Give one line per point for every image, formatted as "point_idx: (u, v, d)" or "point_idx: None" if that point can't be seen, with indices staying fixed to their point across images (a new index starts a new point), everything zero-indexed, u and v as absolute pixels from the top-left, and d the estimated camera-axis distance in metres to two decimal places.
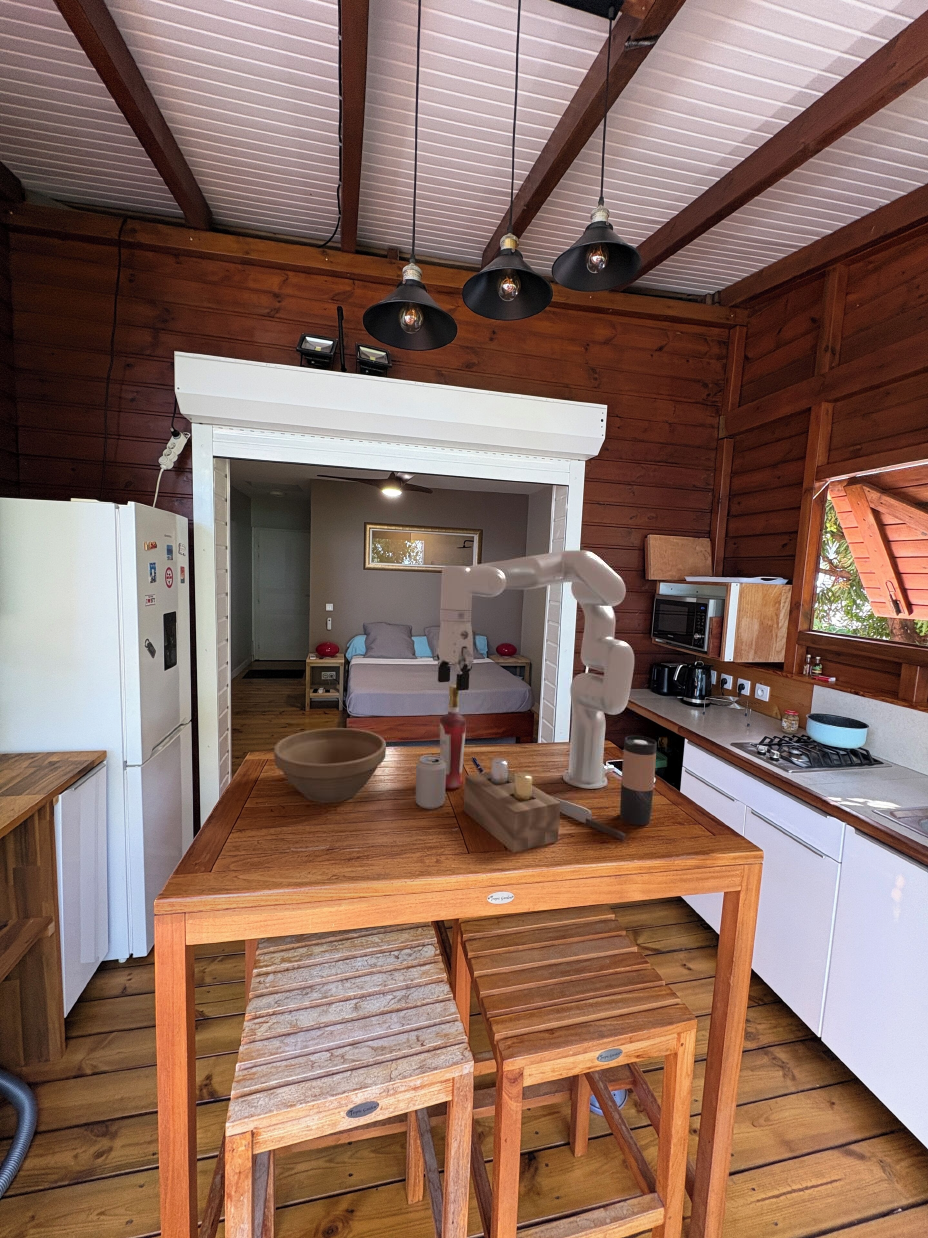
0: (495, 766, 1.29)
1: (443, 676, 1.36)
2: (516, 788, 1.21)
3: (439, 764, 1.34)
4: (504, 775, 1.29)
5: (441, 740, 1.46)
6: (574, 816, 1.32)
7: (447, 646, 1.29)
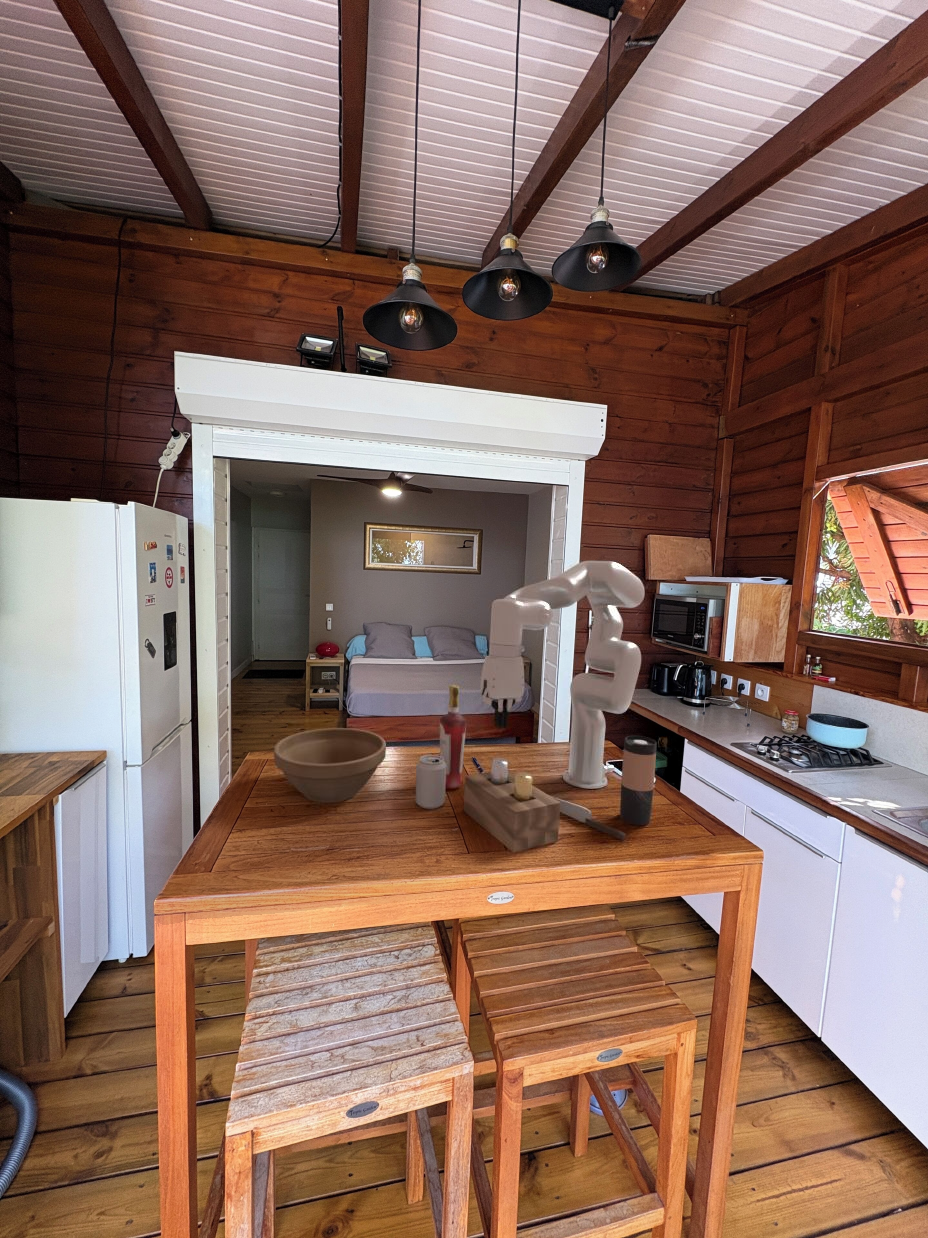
0: (495, 766, 1.29)
1: None
2: (516, 788, 1.21)
3: (439, 764, 1.34)
4: (504, 775, 1.29)
5: (441, 740, 1.46)
6: (574, 816, 1.32)
7: (512, 682, 1.27)
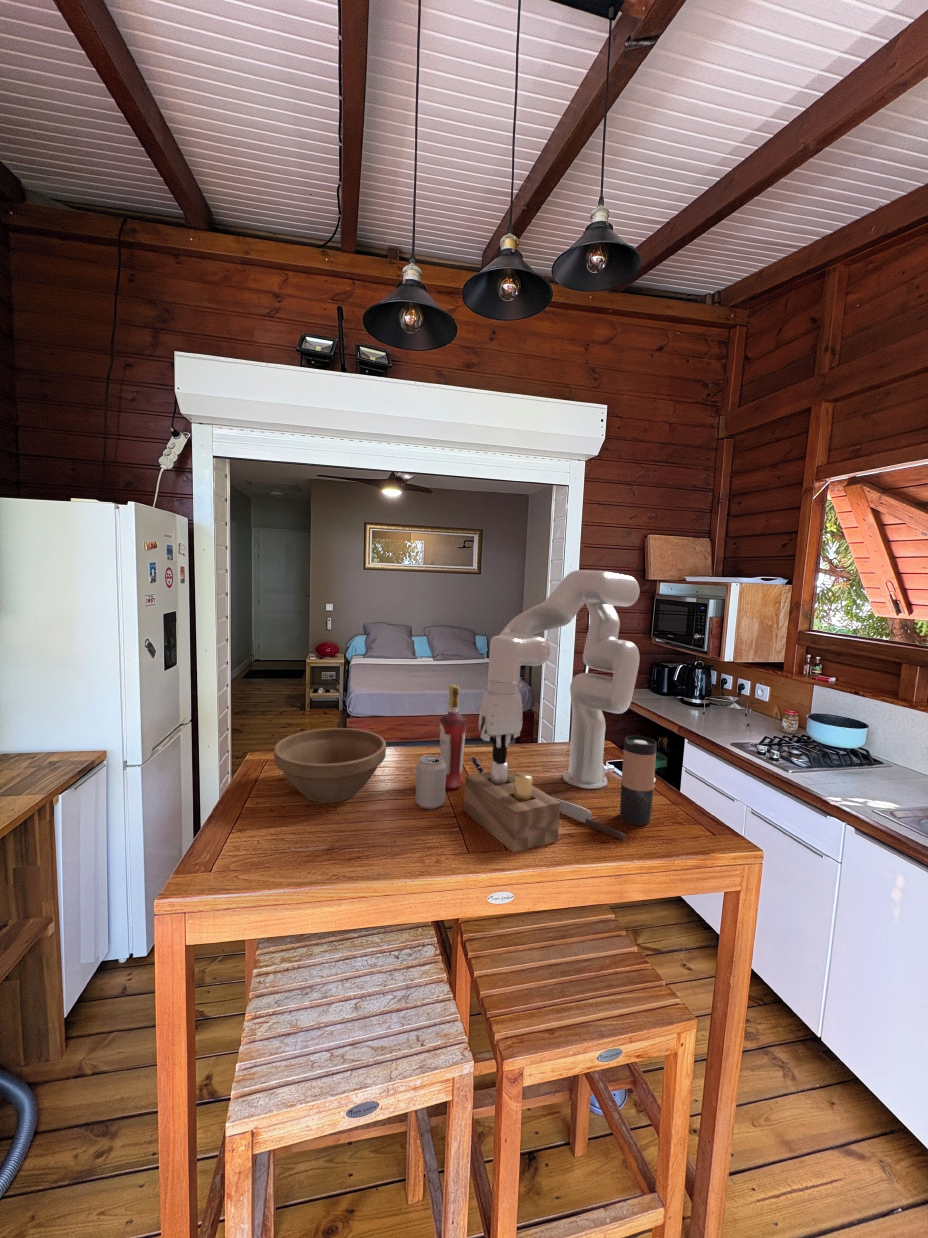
0: (495, 767, 1.29)
1: None
2: (516, 788, 1.21)
3: (439, 764, 1.34)
4: (504, 776, 1.29)
5: (441, 740, 1.46)
6: (574, 816, 1.32)
7: (510, 718, 1.28)
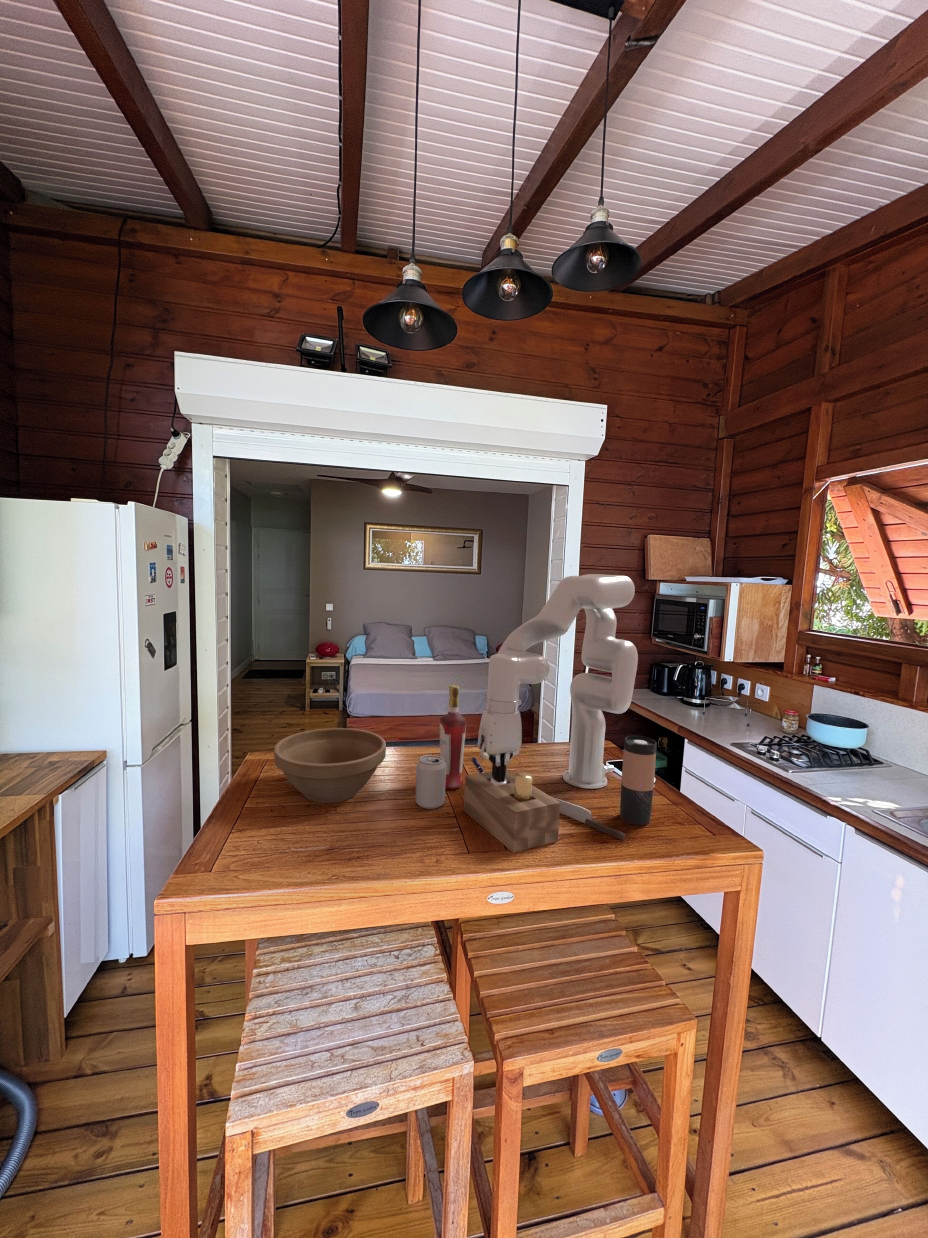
0: None
1: None
2: (516, 788, 1.21)
3: (439, 764, 1.34)
4: None
5: (441, 740, 1.46)
6: (574, 816, 1.32)
7: (510, 737, 1.28)
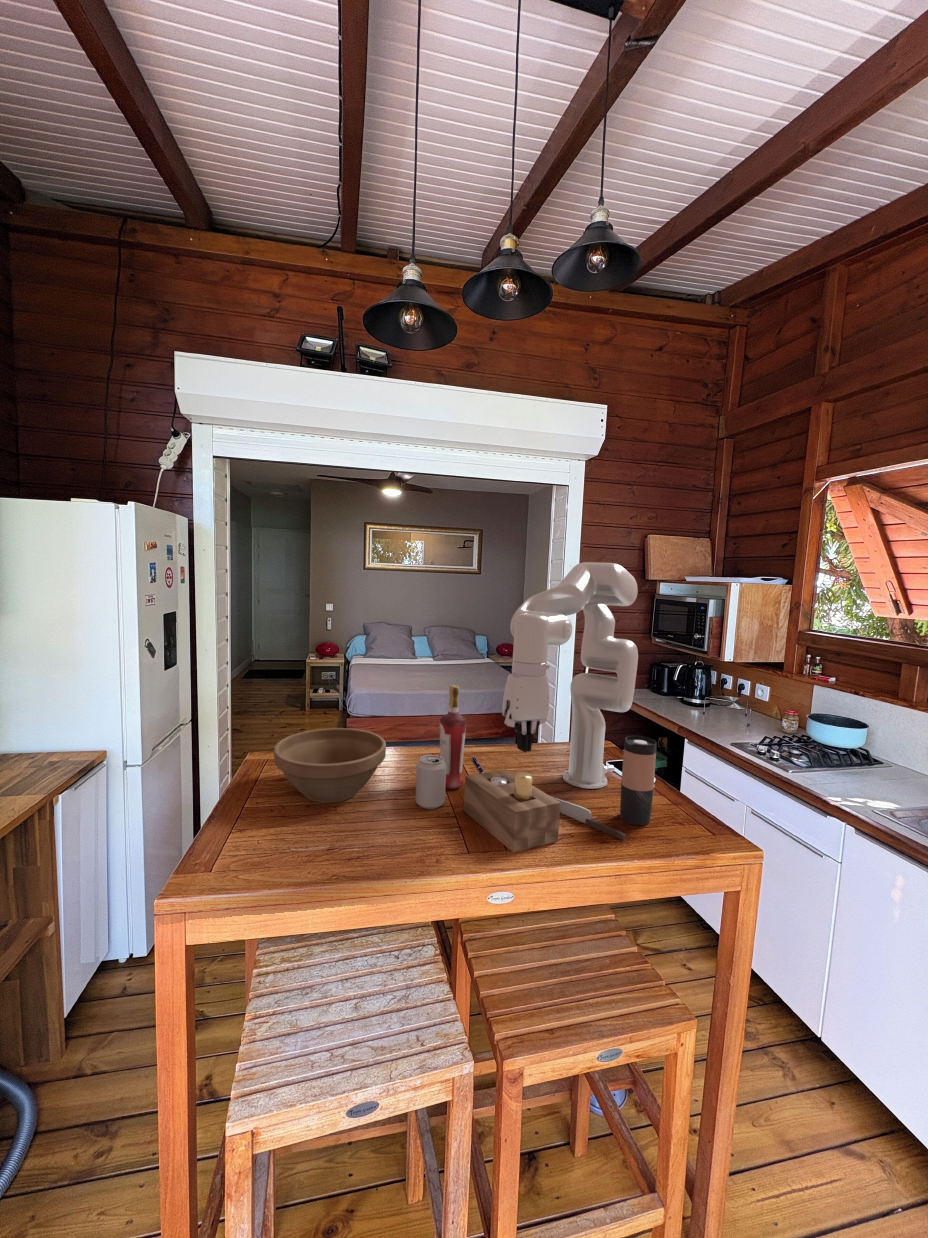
0: None
1: None
2: (516, 788, 1.21)
3: (439, 764, 1.34)
4: None
5: (441, 740, 1.46)
6: (574, 816, 1.32)
7: (537, 702, 1.19)
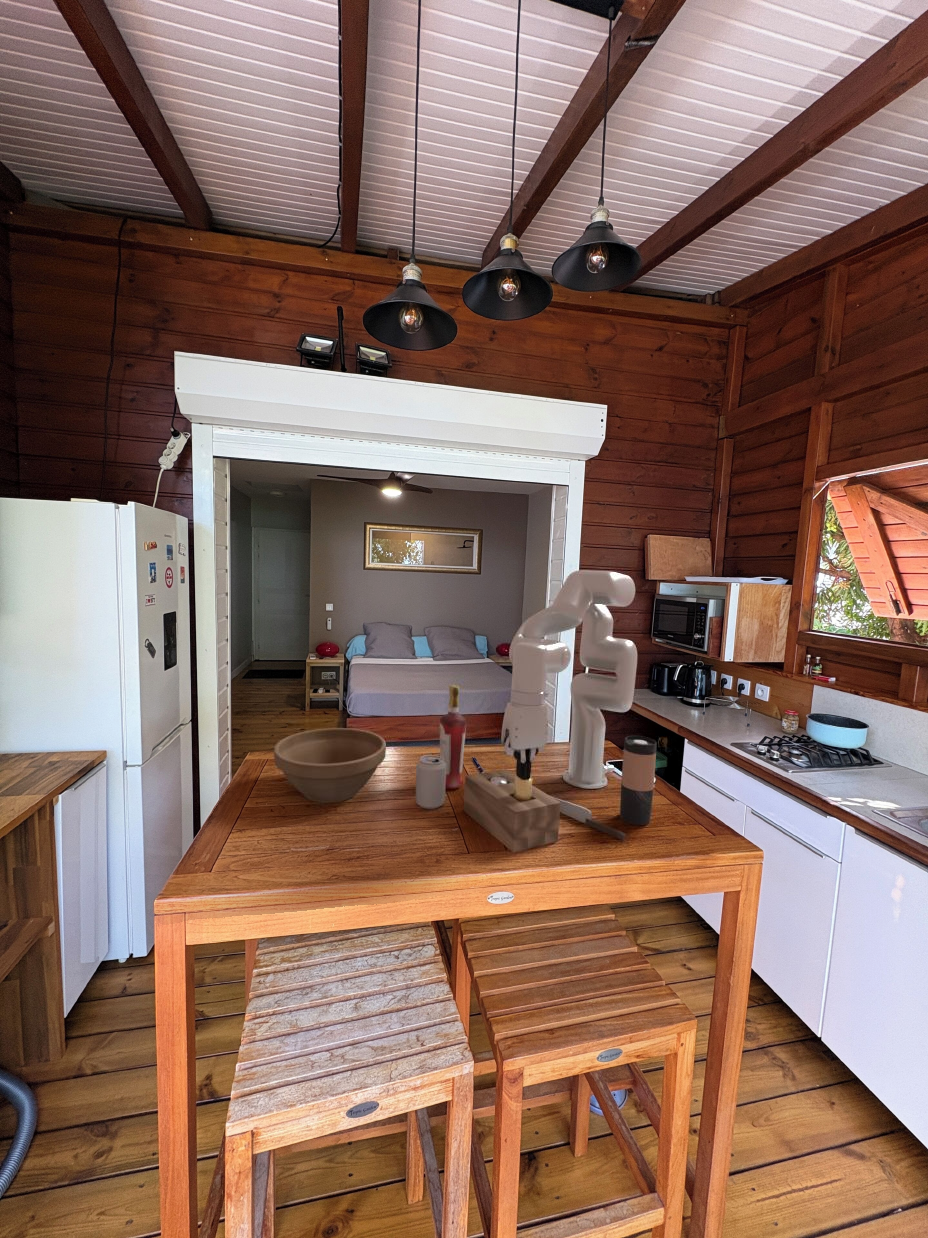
0: None
1: None
2: (516, 790, 1.21)
3: (439, 764, 1.34)
4: None
5: (441, 740, 1.46)
6: (574, 816, 1.32)
7: (536, 731, 1.19)
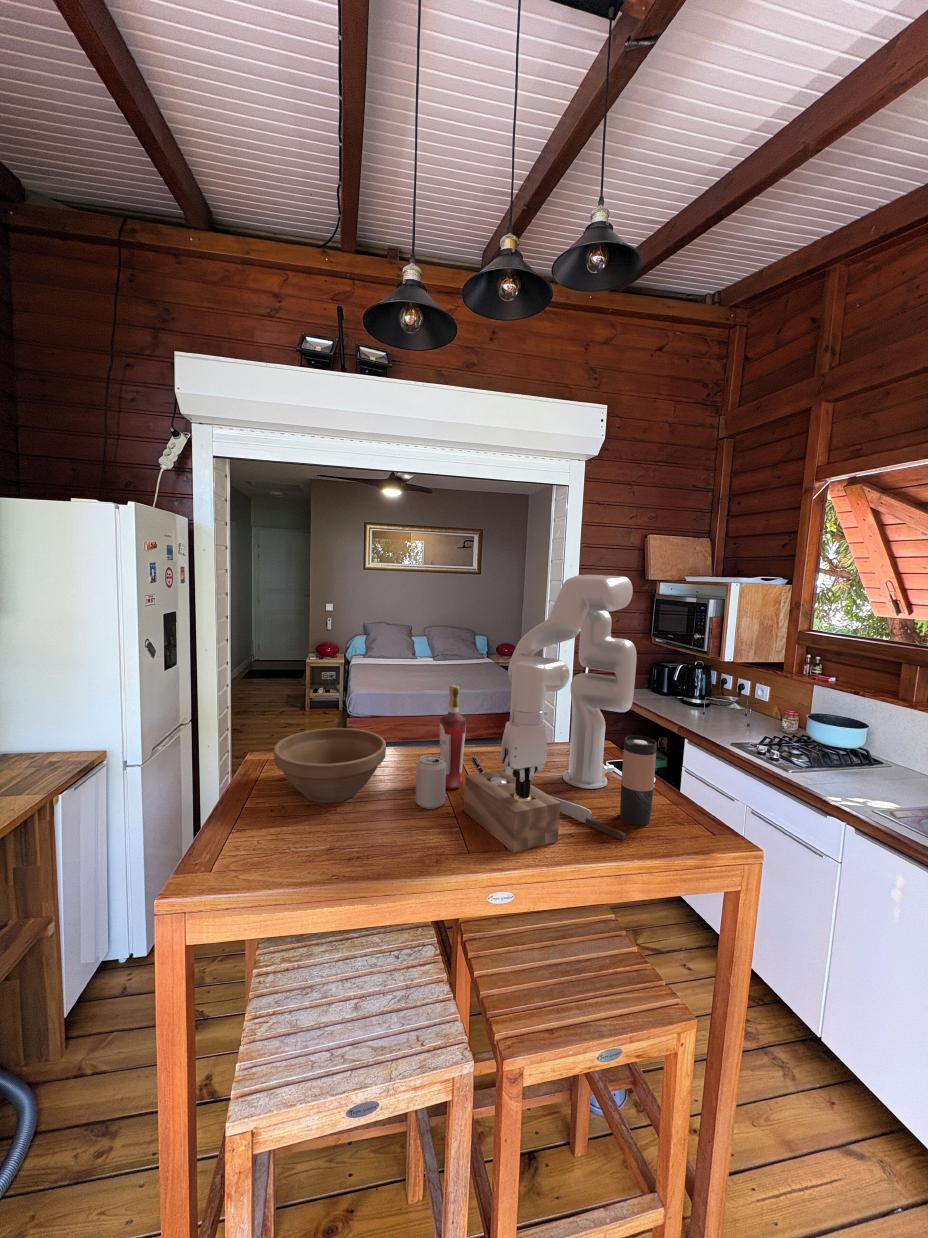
0: None
1: None
2: None
3: (439, 764, 1.34)
4: None
5: (441, 740, 1.46)
6: (574, 816, 1.32)
7: (535, 750, 1.20)
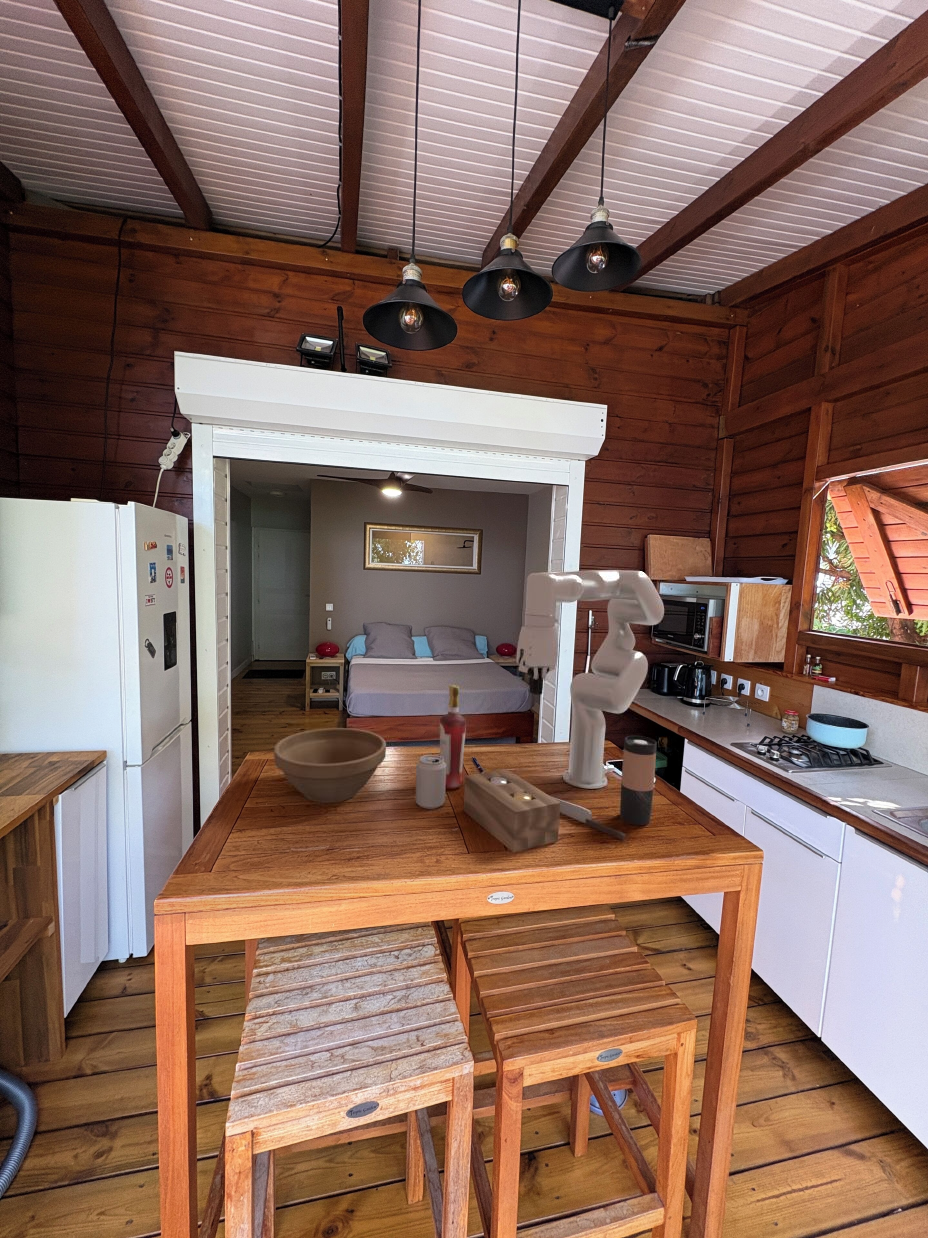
0: None
1: None
2: None
3: (439, 764, 1.34)
4: None
5: (441, 740, 1.46)
6: (574, 816, 1.32)
7: (547, 651, 1.35)
